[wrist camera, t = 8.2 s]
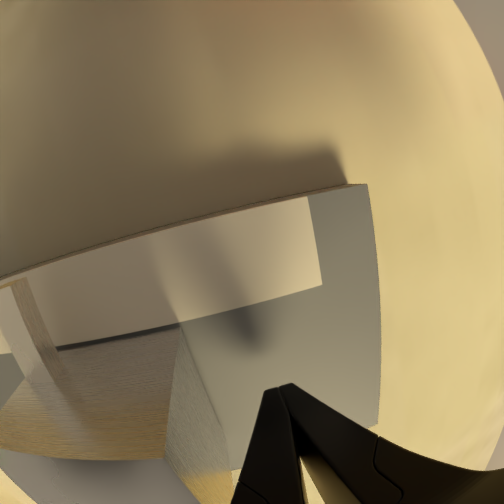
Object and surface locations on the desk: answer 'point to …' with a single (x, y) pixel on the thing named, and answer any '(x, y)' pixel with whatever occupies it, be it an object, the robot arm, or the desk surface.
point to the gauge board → (234, 303)
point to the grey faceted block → (108, 418)
